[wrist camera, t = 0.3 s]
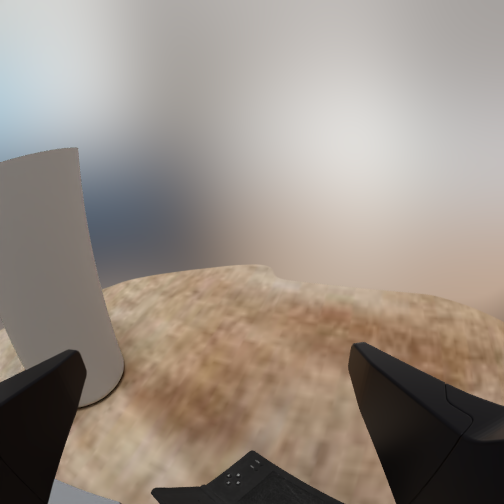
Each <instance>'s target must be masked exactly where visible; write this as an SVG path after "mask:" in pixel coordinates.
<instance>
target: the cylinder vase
mask: <svg viewBox="0 0 504 504" xmlns="http://www.w3.org/2000/svg"><path fill="white" fill-rule="evenodd" d="M0 318H1V320H2V322H3V325H4V327H5V329H6V332H7V334H8V336H9V338H10V340H11V343H12V345H13V347H14V349H15V351H16V353H17V355H18V357H19V359H20V361H21V363H22V364H23V366H24V368H25V370H27V369H29V368H31V367H33V366H35V365H37V364H39V363H41V362H43V361H45V360H47V359H49V358H51V357H53V356H55V355H57V354H59V353H61V352H63V351H65V350H68V349H72V350H78V351H79V352H80V354H81V356H82V359H83V362H84V364H85V367H86V370H87V376H86V380H85V383H84V387H83V391H82V394H81V398H80V402H79V406H78V407H83V406H87V405H90V404H92V403H95V402H97V401H99V400H100V399H102V398H104V397H105V396H106V395H108V394H109V393H110V392H111V391H112V390H113V389H114V388H115V386H116V385H117V384H118V382H119V380H120V379H121V376H122V373H123V369H124V361H123V356H122V354H121V351H120V348H119V345H118V342H117V339H116V336H115V333H114V330H113V327H112V324H111V321H110V317H109V314H108V311H107V307H106V304H105V300H104V296H103V293H102V289H101V285H100V281H99V278H98V273H97V269H96V265H95V260H94V256H93V251H92V246H91V241H90V236H89V231H88V225H87V219H86V213H85V207H84V200H83V192H82V185H81V176H80V166H79V155H78V148H62V149H55V150H49V151H44V152H38V153H34V154H29V155H25V156H21V157H17V158H14V159H10V160H7V161H3V162H0Z"/></svg>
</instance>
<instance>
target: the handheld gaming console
mask: <svg viewBox="0 0 504 504" xmlns="http://www.w3.org/2000/svg"><path fill="white" fill-rule="evenodd" d="M151 494H152V495H153V497H154V498H155V499H156V500H157V501H158V502H159V503H160V504H344V503H342V502H340V501H338V500H336V499H334V498H332V497H330V496H328V495H326V494H324V493H322V492H321V491H319V490H317V489H315V488H313V487H311V486H310V485H308V484H306V483H304V482H303V481H301V480H299V479H297V478H296V477H294V476H292V475H291V474H289V473H287V472H286V471H284V470H282V469H281V468H279V467H278V466H276V465H275V464H273V463H271V462H270V461H268V460H267V459H265V458H264V457H262V456H261V455H259V454H258V453H256V452H255V451H253V450H252V451H250V452H248V453H247V454H246V455H245V456H244V457H242V458H241V459H240V460H239V461H237V462H236V463H235V464H234V465H232V466H231V467H230V468H228V469H227V470H226V471H225V472H223V473H222V474H221V475H219V476H218V477H217V478H215V479H214V480H213V481H211V482H210V483H208V484H207V485H202V486H200V487H178V488H154V489H153V490H152V492H151Z"/></svg>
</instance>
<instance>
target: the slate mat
mask: <svg viewBox="0 0 504 504" xmlns="http://www.w3.org/2000/svg"><path fill="white" fill-rule="evenodd" d="M48 504H121V503H120V502H117V501H114V500H110V499H107V498H104V497H101V496H98V495H95V494H92V493H89V492H86V491H83V490H81V489H78V488H75V487H73V486H70V485H68V484H65V483H63V482H61V481H58V480H56V479H54V483H53V486H52V490H51V494H50V498H49V502H48Z"/></svg>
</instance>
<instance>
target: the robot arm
mask: <svg viewBox="0 0 504 504" xmlns="http://www.w3.org/2000/svg"><path fill="white" fill-rule="evenodd" d="M348 370H349V374H350V377H351V381H352V384H353V388H354V392H355V395H356V399H357V403H358V406H359V409H360V412H361V414H362V417H363V419H364V422H365V424H366V427H367V429H368V432H369V434H370V437H371V439H372V442H373V444H374V447H375V449H376V452H377V454H378V457H379V459H380V462H381V465H382V467H383V470H384V472H385V475H386V478H387V480H388V483H389V486H390V488H391V491H392V494H393V496H394V499H395V502H396V504H504V406H502V405H499V404H496V403H493V402H490V401H487V400H484V399H482V398H479V397H476V396H474V395H471V394H469V393H466V392H464V391H462V390H460V389H457V388H455V387H453V386H451V385H449V384H447V383H446V384H445V382H443V381H441V380H439V379H437V378H435V377H433V376H431V375H429V374H427V373H425V372H423V371H421V370H419V369H417V368H415V367H413V366H411V365H409V364H407V363H405V362H403V361H401V360H399V359H397V358H395V357H393V356H391V355H389V354H387V353H385V352H383V351H381V350H379V349H377V348H375V347H373V346H371V345H369V344H367V343H365V342H360V343H354V344H353V345H352V346H351V351H350V357H349V363H348ZM86 376H87V370H86V367H85V364H84V362H83V359H82V356H81V354H80V352H79V351H78V350H72V349H68V350H65V351H63V352H61V353H59V354H57V355H55V356H53V357H51V358H49V359H47V360H45V361H43V362H41V363H39V364H37V365H35V366H33V367H31V368H29V369H27V370H25V371H23V372H21V373H19V374H17V375H15V376H13V377H11V378H9V379H6V380H4V381H2V382H0V504H48V502H49V498H50V494H51V490H52V486H53V483H54V479H55V476H56V472H57V469H58V465H59V462H60V459H61V456H62V453H63V450H64V447H65V443H66V441H67V438H68V435H69V432H70V429H71V426H72V423H73V421H74V418H75V415H76V412H77V409H78V406H79V402H80V398H81V394H82V391H83V387H84V383H85V380H86Z"/></svg>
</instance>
